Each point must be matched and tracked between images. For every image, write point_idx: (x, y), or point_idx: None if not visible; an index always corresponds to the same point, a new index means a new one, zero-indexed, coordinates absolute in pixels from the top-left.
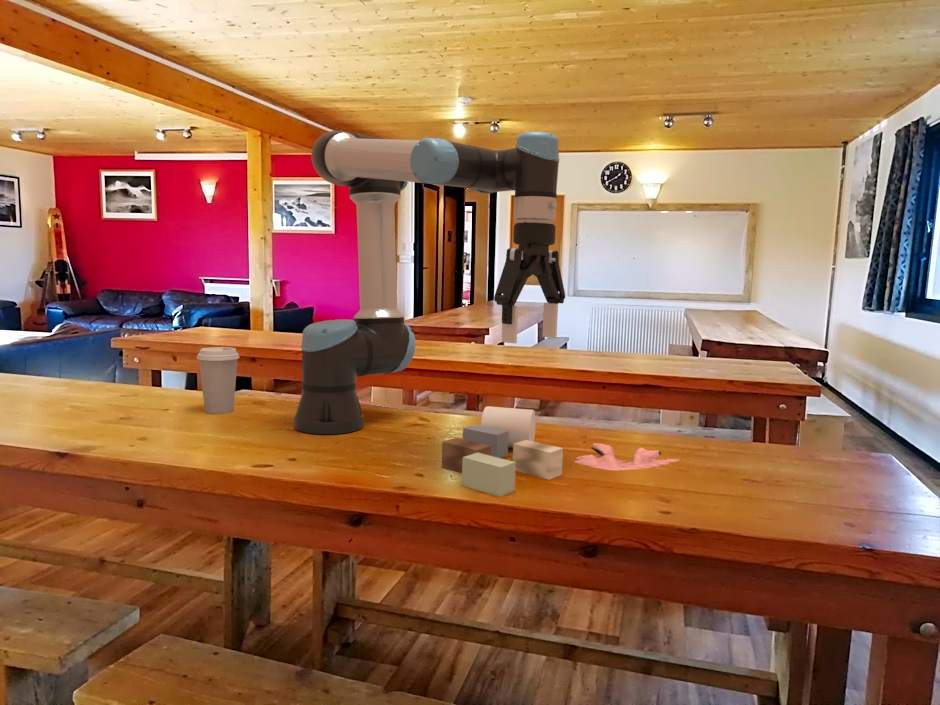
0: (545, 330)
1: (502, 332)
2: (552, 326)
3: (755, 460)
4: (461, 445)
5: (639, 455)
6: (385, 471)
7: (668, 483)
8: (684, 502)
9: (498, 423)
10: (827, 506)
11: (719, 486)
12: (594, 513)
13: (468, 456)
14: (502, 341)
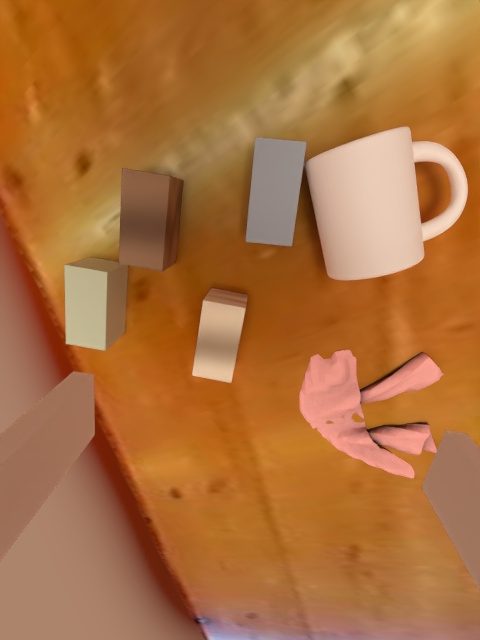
0: (458, 472)
1: (43, 400)
2: (458, 530)
3: None
4: (125, 220)
5: (368, 443)
6: (53, 91)
7: (283, 482)
8: (221, 504)
9: (320, 205)
10: (297, 606)
11: (306, 527)
12: (120, 437)
13: (75, 271)
14: (72, 377)
